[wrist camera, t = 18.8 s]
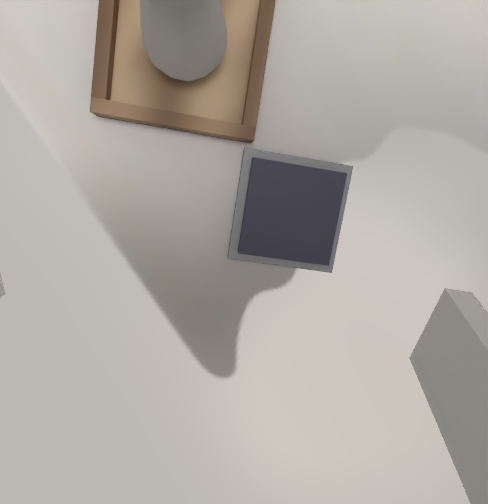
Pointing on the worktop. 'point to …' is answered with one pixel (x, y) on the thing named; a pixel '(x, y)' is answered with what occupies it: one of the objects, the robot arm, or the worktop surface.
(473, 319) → the robot arm
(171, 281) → the worktop surface
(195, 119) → the tray
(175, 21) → the salt shaker
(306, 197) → the ink pad
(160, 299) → the worktop surface
